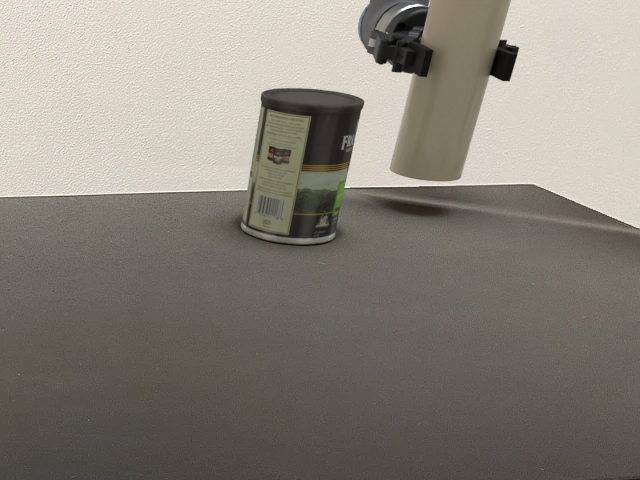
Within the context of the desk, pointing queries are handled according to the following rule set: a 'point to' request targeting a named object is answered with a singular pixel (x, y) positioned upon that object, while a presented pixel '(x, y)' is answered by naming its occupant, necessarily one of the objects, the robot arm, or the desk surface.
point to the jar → (448, 88)
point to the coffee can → (300, 164)
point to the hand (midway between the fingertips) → (468, 65)
